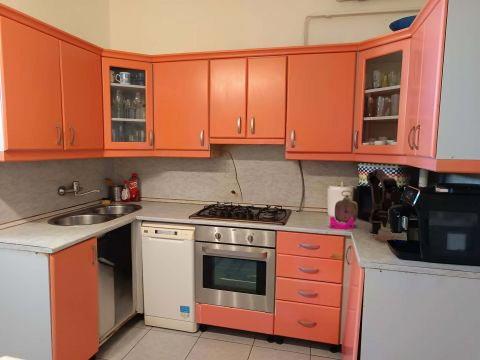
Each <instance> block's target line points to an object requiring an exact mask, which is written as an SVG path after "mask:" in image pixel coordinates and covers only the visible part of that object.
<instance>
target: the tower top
mask: <svg viewBox="0 0 480 360" xmlns="http://www.w3.org/2000/svg"><path fill="white" fill-rule="evenodd" d="M392 235H394V232H393V233H392V232H391V231H390V232H387V231H381V228H380V229H379V231H378V236H383V237H390V238H391V237H392Z"/></svg>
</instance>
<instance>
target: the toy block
mask: <svg viewBox="0 0 480 360" xmlns="http://www.w3.org/2000/svg"><path fill="white" fill-rule="evenodd" d="M329 217H330V218H329V229H330V230H342V231H343V230H344V231H346V230H354V227H353V225H354V222H353V221H354V218H351V217H350V220H349V221H348V222H347V223H346V222H343V223H342V222H339V221H337V220H336V219H335V215H334V216H332V215H331V216H329ZM338 222H339V223H338Z"/></svg>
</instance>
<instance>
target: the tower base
mask: <svg viewBox="0 0 480 360" xmlns="http://www.w3.org/2000/svg"><path fill="white" fill-rule="evenodd" d="M391 239H397V235H396V234H393V235H392V237H391V238H390V237H383V236H378V234H377V233H376V235H375V236H374V240H375V241H380V242H385V243H386V242H387V240H391ZM387 243H388V242H387Z"/></svg>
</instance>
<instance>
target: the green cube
mask: <svg viewBox="0 0 480 360" xmlns="http://www.w3.org/2000/svg"><path fill="white" fill-rule="evenodd" d="M391 230H392V229H390V224H389V222H388V223H387V225H386V227H383V224H382V223H381V231H387V232H390V231H391Z"/></svg>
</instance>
